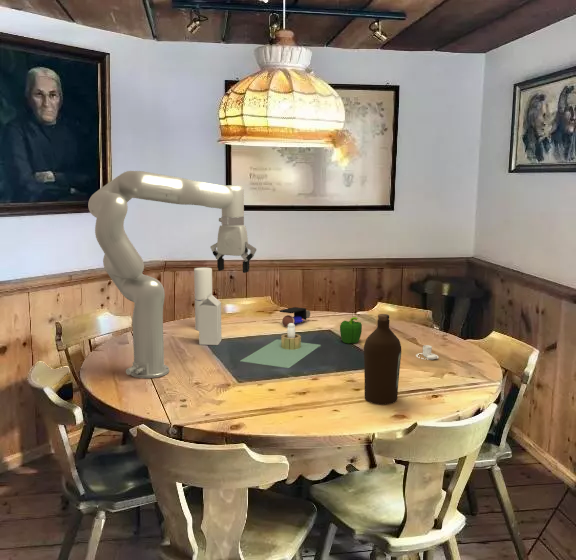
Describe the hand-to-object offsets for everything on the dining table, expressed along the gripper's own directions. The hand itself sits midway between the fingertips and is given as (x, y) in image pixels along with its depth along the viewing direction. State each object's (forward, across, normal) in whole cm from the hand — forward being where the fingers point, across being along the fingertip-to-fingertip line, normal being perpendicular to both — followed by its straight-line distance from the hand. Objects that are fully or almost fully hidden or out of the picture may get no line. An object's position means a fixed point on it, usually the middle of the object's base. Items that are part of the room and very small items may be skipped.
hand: (233, 271), depth 221 cm
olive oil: (+31, +59, -20) cm, 69 cm away
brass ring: (+29, +16, +14) cm, 36 cm away
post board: (+30, +16, +6) cm, 35 cm away
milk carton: (+31, -16, +11) cm, 36 cm away
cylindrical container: (+31, -29, +28) cm, 51 cm away
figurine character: (+31, +2, +51) cm, 60 cm away
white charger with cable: (+31, +62, +25) cm, 73 cm away
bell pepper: (+31, +32, +34) cm, 56 cm away
